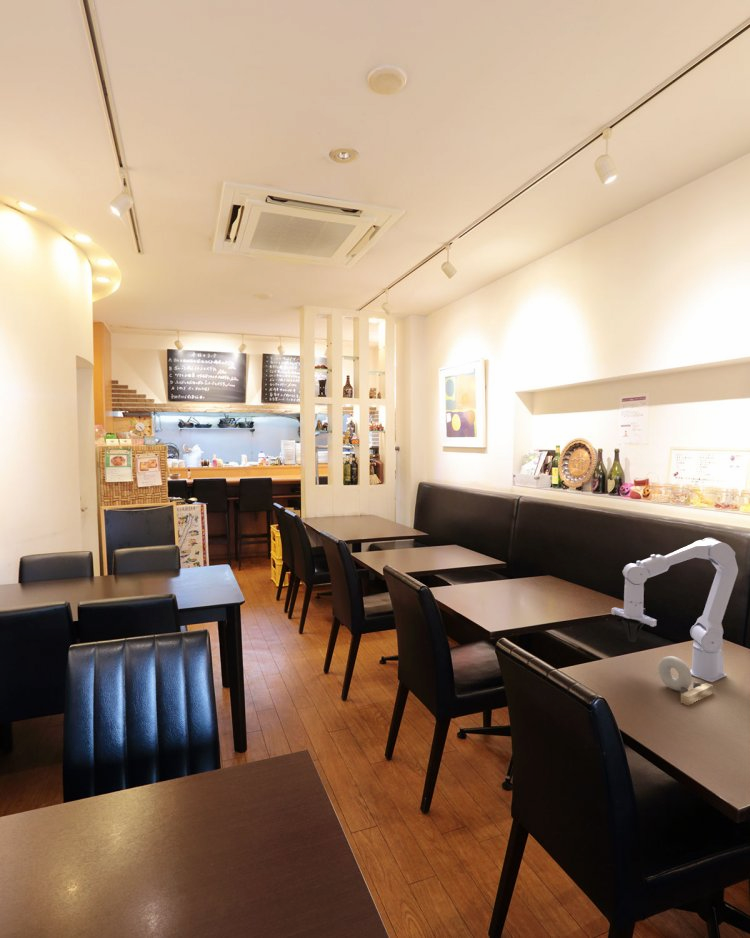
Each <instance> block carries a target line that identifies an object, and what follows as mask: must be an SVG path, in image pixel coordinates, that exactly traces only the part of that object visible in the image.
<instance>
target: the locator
mask: <svg viewBox="0 0 750 938" xmlns="http://www.w3.org/2000/svg"><path fill="white" fill-rule="evenodd" d="M692 682H693V684H692V685H693V686H692V687H693V688H692V689H689V688H685V687H681V691H680V704H682V703H684V704H683V705H685V704H686V705H685V706H687V705H688V706H690V705H692V704H694V702H695V703H696V701H697V702H699V701H701V700H703V699H705V698H706V697H708V696H711V695H713V693H714V685H713V684H710V683H708V682H705V683H702V684H701V682H700V681H696V680H695V681H692ZM698 700H699V701H698ZM689 704H690V705H689Z"/></svg>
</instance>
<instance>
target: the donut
mask: <svg viewBox="0 0 750 938" xmlns="http://www.w3.org/2000/svg"><path fill="white" fill-rule="evenodd" d="M672 668H673V669H675V671H676V672H677V674H678V678H675V677H674V676H673V674H672V672H671V669H672ZM657 669H658V670H657V671H658V674H659V677H660V679H661V681H662V683H663V684H664V685H665V686H666V687H668V688H669V689H671V690H673V691H677V692H681V687H685V688H687V689H689V687H690V686H691V684H692V682H693V681H692V679H693V678H692V676H693V675H691V672H690V670H691V669H690V668H689V666H688V665H687V663H686V662H684V660H682V659H681V658H679V657H677V656H673V655H669V656H664V657H663V658H661V659H660V661H659V663H658V665H657Z"/></svg>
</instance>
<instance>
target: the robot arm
mask: <svg viewBox="0 0 750 938" xmlns="http://www.w3.org/2000/svg"><path fill="white" fill-rule="evenodd" d="M695 558H697V559H701V560H702V559H703V560H709V561H710V562H711V564H712V565H713V566H714V568H715V569H716V573H715V575H714V579H713V580H712V581H713V582H712V583H711V587H710V590H709V594H708V597H707V600H706V602H705V607H704V610H703V612H702V615H701V616H699V617H698V618H697V620H696V622H695V623H694V625H692V626H691V628H690V630H689V633H690V637H691V638H692V639H693V643H692V659H691V662H692V663H691V669H690V672H691V676H693V677H696V678H698V679H700V680H703V681H706V682H709V683H713V682H716V681H718V680H720V679H722V678H725V677H727V673H724V664H725V663H724V662H725V661H724V659H725V656H724V652H723V651H722V649H723V646H724V639H723V634H724V628H723V623H722V622H723V619H724V616H725V613H726V610H727V606H728V604H729V600H730V598H731V595H732V592H733V588H734V585H735V582H736V579H737V576H738V573H739V567H738V564H737V563H738V562H737V558H736V551H734V549H733V548H732V547H731V546H730V545H729V544H728V543H725V542H722V541H719V540H718V539H716V538H714V537H705V538H704V539H699V540H695V541H694V542H693V543H691V544H688V545H687V546H684V547H682V548H679V549H677V550H675V551H673V552H670V553H668V554H666V555H663V554H662V555H661V554H659V553H658V554H654V553H653V554H650V557H648V558H645V559H642V560H636V563H632V562H630V563H628V564H626V565H625V566H624V567H623V570H621V571H622V575H623V577H624V590H623V592H624V593H623V608H619V607H612V608H610V609H611V611H610V612H611V615H613V616H615V615H616V616H619V617H622V618H623V619H621V623H622V625H623V626H624V629H625V631H626V634H627V639H628V642H630V643H635V642H637V640H638V636H639V633H640V631H641V629H642V628H643V626H644V625H645V624H646V625H648V626H650V627H652V628H653V627H656V626H657V621H658V620H657V619H655V618H653V617H650V616H648V615H645V614H644V592H645V586H644V584H645V582H647V580H648V579H650V578H652V577H655V576H658V575H660V574H663V573H665V572H667V571H668V570H669V569H670V567H671V566H673V565H677V564H679V563H682V562H685V561H687V560H688V561H689V560H691V559H695Z"/></svg>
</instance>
